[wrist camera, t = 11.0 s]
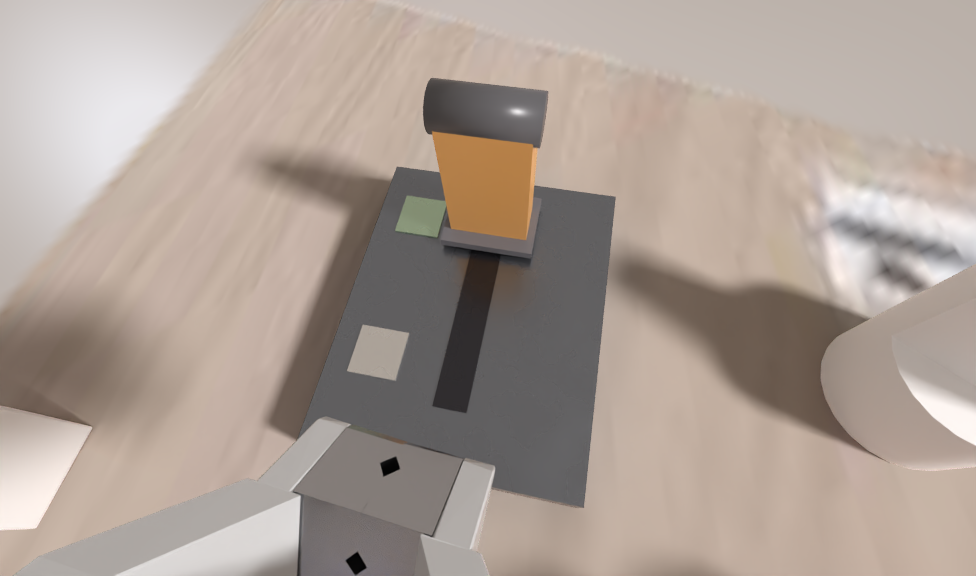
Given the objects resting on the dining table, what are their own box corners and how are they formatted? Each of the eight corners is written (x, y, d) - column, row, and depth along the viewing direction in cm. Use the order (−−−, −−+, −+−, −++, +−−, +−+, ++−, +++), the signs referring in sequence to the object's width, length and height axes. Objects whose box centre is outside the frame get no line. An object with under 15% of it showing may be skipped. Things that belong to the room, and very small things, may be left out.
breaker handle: (530, 258, 30) (543, 135, 20) (441, 244, 30) (410, 118, 21) (541, 203, 32) (556, 66, 22) (456, 191, 32) (434, 53, 22)
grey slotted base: (575, 507, 26) (584, 507, 24) (315, 450, 28) (294, 443, 25) (607, 221, 35) (615, 195, 32) (405, 191, 37) (396, 165, 34)
